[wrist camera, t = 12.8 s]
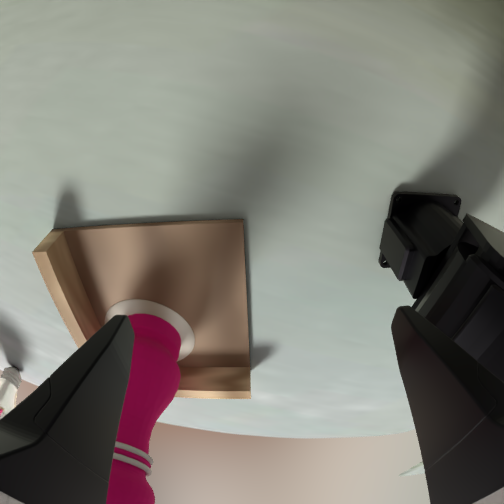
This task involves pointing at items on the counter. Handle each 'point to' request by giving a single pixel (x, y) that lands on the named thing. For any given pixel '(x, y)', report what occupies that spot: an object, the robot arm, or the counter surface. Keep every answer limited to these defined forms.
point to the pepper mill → (143, 407)
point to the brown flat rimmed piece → (160, 291)
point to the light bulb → (9, 389)
